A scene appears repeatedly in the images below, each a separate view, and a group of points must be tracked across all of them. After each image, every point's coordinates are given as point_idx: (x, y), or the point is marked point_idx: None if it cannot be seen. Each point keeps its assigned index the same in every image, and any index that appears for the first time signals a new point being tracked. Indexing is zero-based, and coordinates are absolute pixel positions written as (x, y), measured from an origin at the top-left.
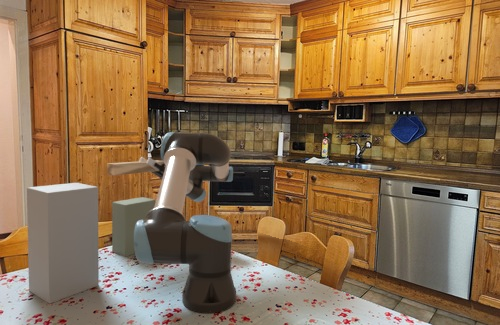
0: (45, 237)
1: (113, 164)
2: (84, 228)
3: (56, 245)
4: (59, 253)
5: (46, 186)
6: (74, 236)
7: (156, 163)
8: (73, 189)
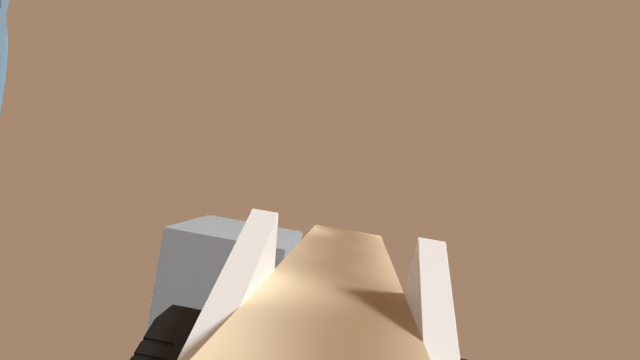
0: None
1: (316, 225)
2: None
3: None
4: None
5: (284, 234)
6: None
7: (175, 311)
8: (194, 221)
